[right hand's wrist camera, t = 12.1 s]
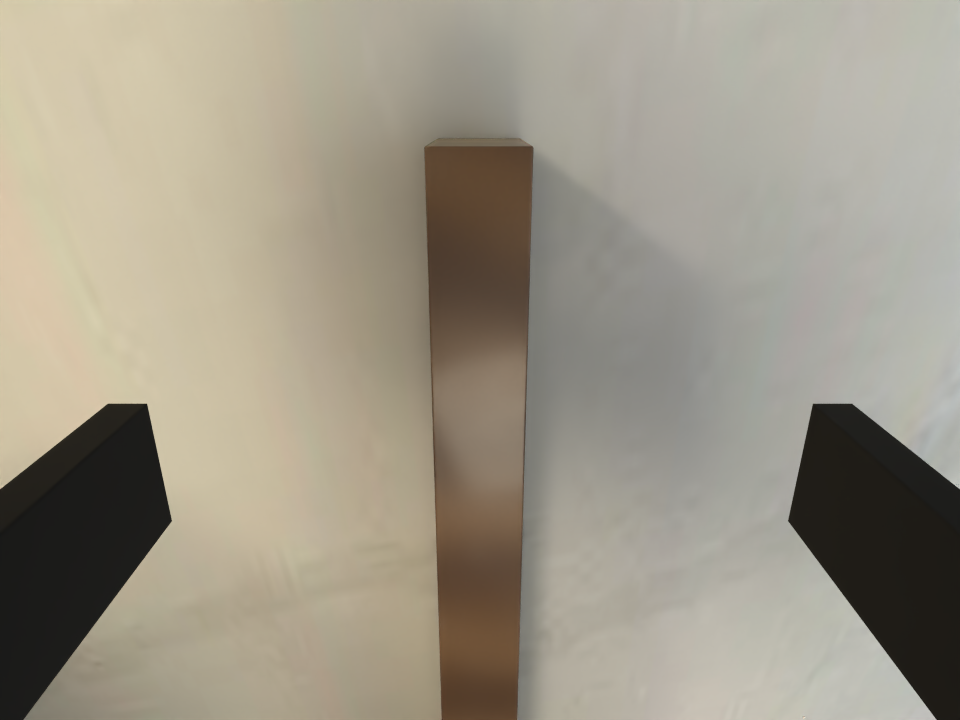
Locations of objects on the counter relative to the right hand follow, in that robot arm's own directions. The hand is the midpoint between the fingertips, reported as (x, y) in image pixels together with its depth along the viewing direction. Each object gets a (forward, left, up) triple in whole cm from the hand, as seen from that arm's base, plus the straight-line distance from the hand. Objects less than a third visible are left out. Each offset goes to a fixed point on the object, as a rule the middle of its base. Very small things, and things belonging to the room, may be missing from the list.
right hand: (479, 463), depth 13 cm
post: (+17, -19, -26) cm, 36 cm away
